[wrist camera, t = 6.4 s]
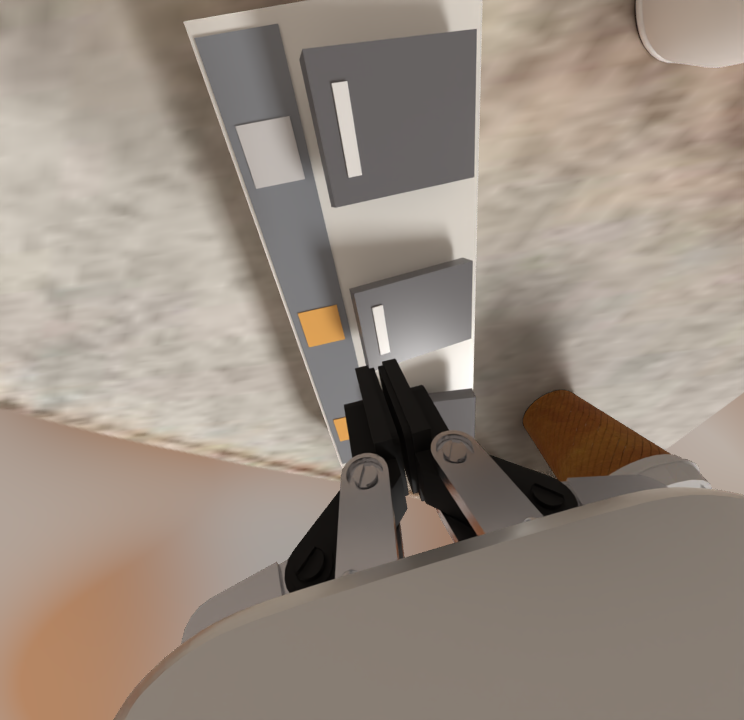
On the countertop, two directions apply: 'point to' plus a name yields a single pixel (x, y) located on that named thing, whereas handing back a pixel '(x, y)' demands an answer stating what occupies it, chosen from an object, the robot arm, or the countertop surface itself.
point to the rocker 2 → (457, 409)
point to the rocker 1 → (393, 113)
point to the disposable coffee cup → (600, 444)
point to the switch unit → (309, 190)
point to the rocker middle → (414, 312)
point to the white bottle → (693, 31)
